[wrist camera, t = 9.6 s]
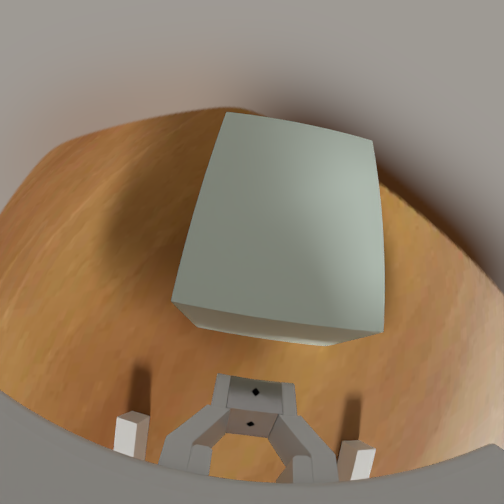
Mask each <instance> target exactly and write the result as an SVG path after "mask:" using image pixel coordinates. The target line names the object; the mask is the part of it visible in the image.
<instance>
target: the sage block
mask: <svg viewBox="0 0 504 504" xmlns="http://www.w3.org/2000/svg"><path fill="white" fill-rule="evenodd" d="M171 302H172V303H173V304H174V305H175V306H176V307H177V308H178V309H179V310H180V311H181V312H182V313H183V314H184V315H185V316H186V317H187V318H188V319H189V320H190V321H191V322H192V323H193V324H194V325H196V326H197V327H200V328H205V329H210V330H215V331H221V332H226V333H232V334H238V335H244V336H250V337H257V338H263V339H270V340H277V341H285V342H293V343H301V344H310V345H319V346H328V345H333V344H338V343H342V342H346V341H350V340H355V339H359V338H363V337H367V336H371V335H374V334H378V333H382V332H383V330H384V305H385V264H384V239H383V223H382V211H381V200H380V191H379V182H378V176H377V168H376V161H375V154H374V148H373V142H372V141H371V140H368V139H364V138H361V137H357V136H353V135H350V134H346V133H342V132H338V131H334V130H330V129H325V128H321V127H317V126H312V125H307V124H303V123H298V122H292V121H287V120H281V119H275V118H269V117H263V116H256V115H249V114H241V113H233V112H226V114H225V117H224V120H223V123H222V126H221V128H220V131H219V134H218V137H217V140H216V143H215V146H214V149H213V152H212V155H211V158H210V161H209V164H208V167H207V170H206V174H205V177H204V180H203V183H202V186H201V190H200V193H199V196H198V200H197V203H196V206H195V210H194V213H193V217H192V220H191V224H190V228H189V231H188V235H187V239H186V242H185V246H184V250H183V254H182V257H181V261H180V265H179V269H178V273H177V278H176V282H175V286H174V290H173V294H172V299H171Z"/></svg>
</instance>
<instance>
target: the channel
mask: <svg viewBox="0 0 504 504" xmlns="http://www.w3.org/2000/svg"><path fill="white" fill-rule="evenodd" d="M149 421H150V416H148V415H145V414H141V413H138V412H135V411H130V412H128V413H125V414H123V415H120V416H118V417H117V421H116V430H115V441H114V451H117V452H120V453H122V454H125V455H128V456H131V457H134V458H137V459H140V460H144V461H145V453H146V444H147V436H148V428H149ZM375 451H376V449H375V448H373V447H371V446H369V445H367V444H365V443H364V442H362V441H360V440H349V441H342V444H341V449H340V453H339V458H338V462H337V469H338V477H339V481H350V480H359V479H366V478H369V475H370V471H371V467H372V463H373V459H374V455H375Z"/></svg>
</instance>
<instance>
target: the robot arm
mask: <svg viewBox="0 0 504 504" xmlns="http://www.w3.org/2000/svg"><path fill="white" fill-rule="evenodd" d="M225 433H232V434H240V435H249V436H257V437H265V438H268V440H269V441H270V443H271V445H272V446H273V448H274V449H275V451H276V453H277V454H278V456H279V457H280V459H281V460H282V462H283V463H284V465H285V466H286V468H285V469H284V471H283V472H282V473H281V474H280V476H279V477H278V478H277V480H276V483H268V482H253V481H243V480H234V479H226V478H219V477H213V476H209V469H210V462H211V456H212V449H211V448H212V447H213V446H214V445H215V444H216V443H217V442H218V441H219V440H220V439H221V438H222V437H223V436H224V435H225ZM0 504H504V450H503V449H502V448H500V447H499V446H497V445H495V444H488V445H485V446H483V447H481V448H478V449H476V450H473V451H471V452H468V453H465V454H463V455H460V456H457V457H454V458H451V459H448V460H445V461H442V462H439V463H436V464H432V465H429V466H425V467H421V468H417V469H413V470H409V471H405V472H400V473H396V474H390V475H385V476H379V477H373V478H366V479H359V480H350V481H339V477H338V469H337V462H336V455H335V454H334V452H333V451H332V450H331V449H330V448H329V447H328V446H327V445H326V444H325V443H324V442H323V440H322V439H321V438H320V437H319V436H318V435H317V434H316V433H315V432H314V430H313V429H312V428H311V427H310V426H309V425H308V424H307V422H306V421H305V420H304V419H303V418H302V417H301V416H297V407H296V395H295V385H294V384H293V383H283V382H274V381H265V380H254V379H248V378H242V377H237V376H230V375H225V374H220V373H218V374H217V378H216V383H215V388H214V393H213V398H212V403H211V405H206V406H205V407H204V408H202V409H201V410H200V411H199V412H197V413H196V414H195V415H194V416H192V417H191V418H190V419H188V420H187V421H186V422H185V423H183V424H182V425H181V426H179V427H178V428H177V429H175V430H174V431H173V432H171V433H170V434H169V435H167V436H166V439H165V442H164V446H163V449H162V452H161V456H160V459H159V462H158V464H154V463H150V462H147V461H144V460H140V459H137V458H134V457H131V456H128V455H125V454H122V453H120V452H117V451H114V450H112V449H109V448H106V447H104V446H101V445H99V444H96V443H94V442H92V441H89V440H87V439H85V438H83V437H80V436H78V435H76V434H74V433H72V432H70V431H68V430H66V429H64V428H62V427H60V426H58V425H56V424H54V423H52V422H50V421H49V420H47V419H45V418H43V417H42V416H40V415H38V414H36V413H35V412H33V411H31V410H30V409H28V408H26V407H25V406H23V405H22V404H20V403H19V402H17V401H16V400H14V399H13V398H11V397H10V396H8V395H7V394H5V393H4V392H3V391H1V390H0Z"/></svg>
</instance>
